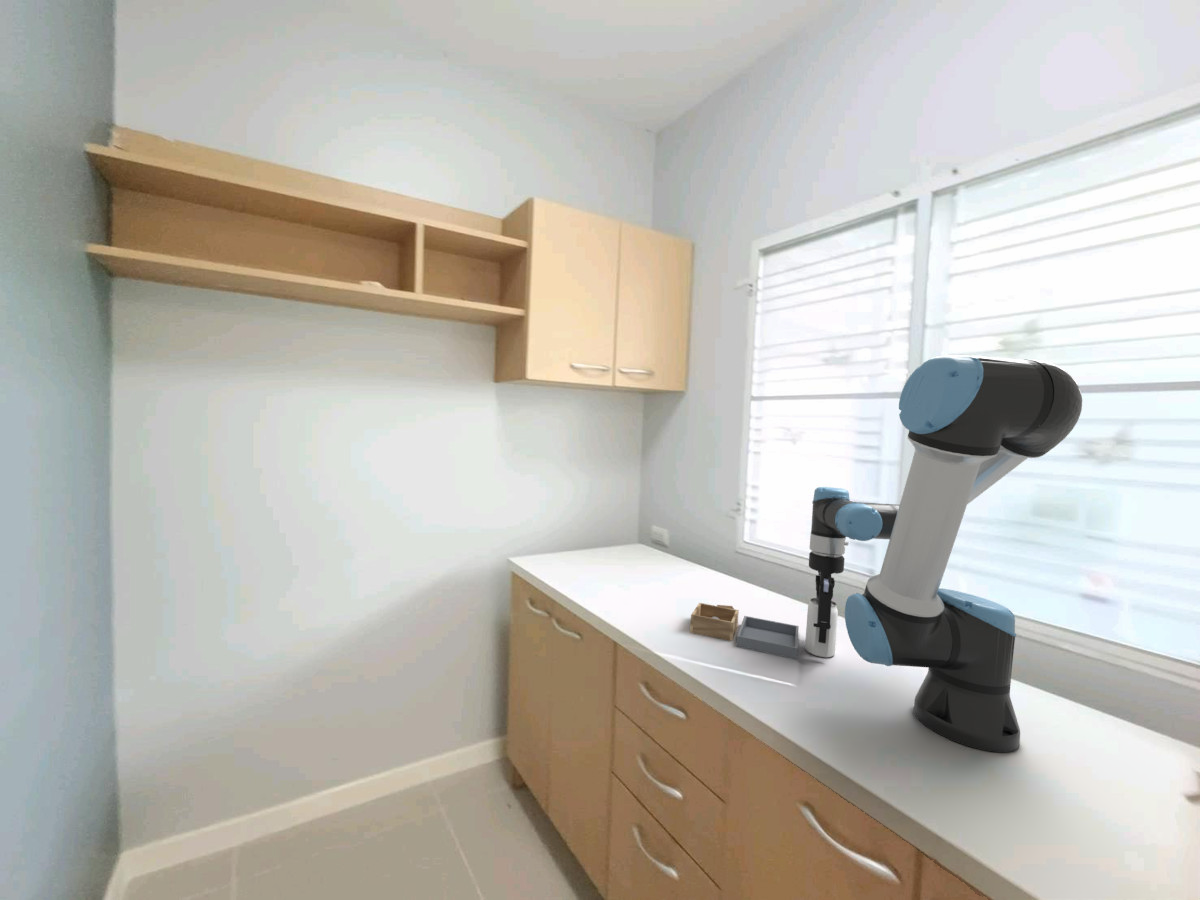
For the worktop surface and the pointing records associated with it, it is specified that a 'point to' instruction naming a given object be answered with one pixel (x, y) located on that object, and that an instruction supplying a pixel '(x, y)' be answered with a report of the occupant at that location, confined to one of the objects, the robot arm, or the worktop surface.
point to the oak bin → (714, 621)
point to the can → (811, 630)
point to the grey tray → (768, 637)
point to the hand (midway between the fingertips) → (820, 646)
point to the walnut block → (726, 606)
